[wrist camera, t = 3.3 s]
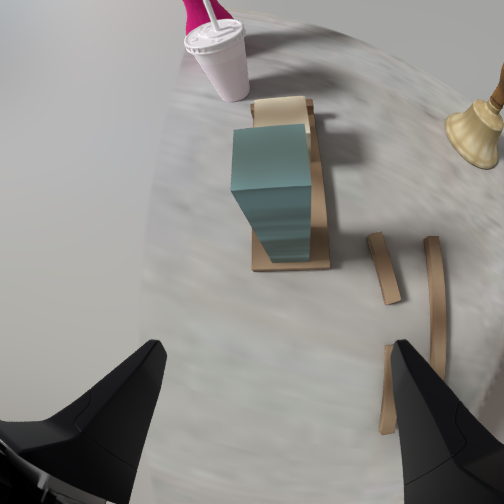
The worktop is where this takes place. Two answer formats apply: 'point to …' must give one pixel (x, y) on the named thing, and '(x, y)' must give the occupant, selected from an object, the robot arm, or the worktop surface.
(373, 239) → the broken lane
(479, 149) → the hand bell
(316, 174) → the wooden base with blocks
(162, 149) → the worktop surface
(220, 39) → the smoothie
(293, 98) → the maple block
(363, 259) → the worktop surface
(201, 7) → the pepper mill
